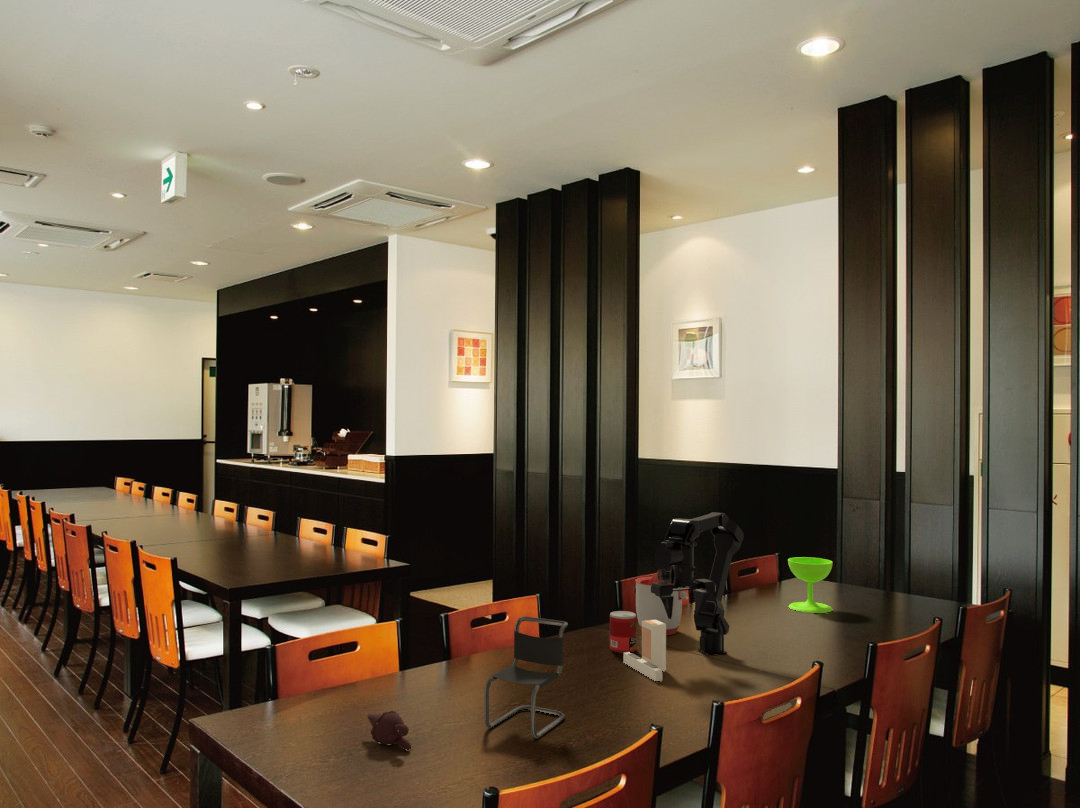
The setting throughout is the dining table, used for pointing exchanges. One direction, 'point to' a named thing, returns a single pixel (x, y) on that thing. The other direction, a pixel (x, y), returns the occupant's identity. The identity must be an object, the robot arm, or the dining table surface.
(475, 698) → the dining table surface
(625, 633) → the canned food
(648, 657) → the carton
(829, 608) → the wineglass
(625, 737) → the dining table surface
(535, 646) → the chair
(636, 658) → the rail
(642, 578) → the citrus juicer
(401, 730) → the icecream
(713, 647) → the robot arm
